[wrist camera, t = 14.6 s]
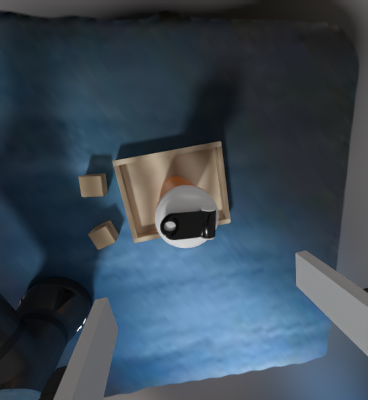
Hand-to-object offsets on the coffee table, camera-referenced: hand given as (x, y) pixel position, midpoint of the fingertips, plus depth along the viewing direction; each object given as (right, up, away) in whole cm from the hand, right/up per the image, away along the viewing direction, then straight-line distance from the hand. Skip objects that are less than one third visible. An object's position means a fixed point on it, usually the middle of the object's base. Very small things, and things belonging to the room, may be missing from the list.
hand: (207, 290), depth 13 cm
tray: (-4, +8, +31) cm, 32 cm away
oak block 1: (-20, +10, +29) cm, 36 cm away
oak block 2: (-19, -1, +32) cm, 37 cm away
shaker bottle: (-3, +8, +30) cm, 32 cm away
